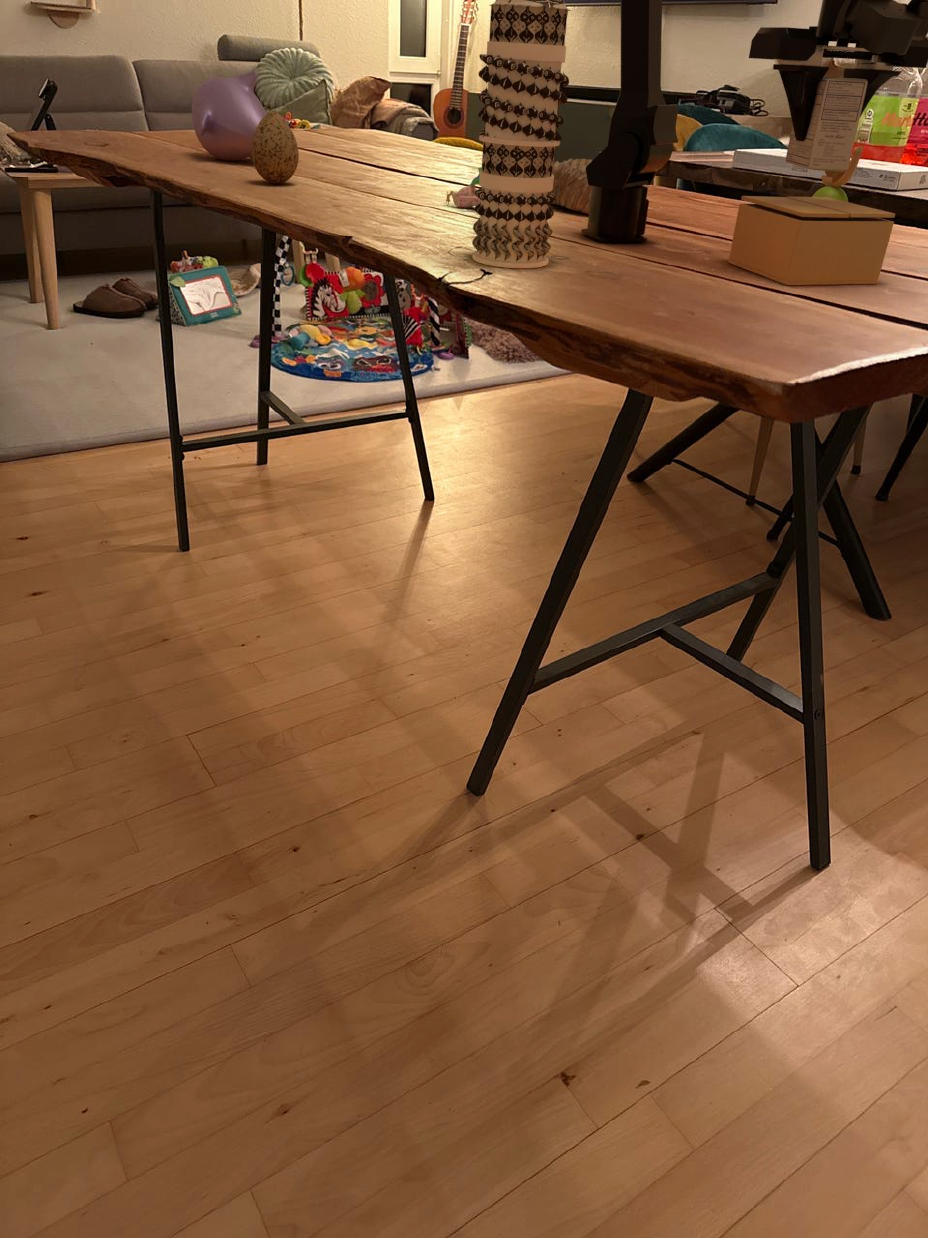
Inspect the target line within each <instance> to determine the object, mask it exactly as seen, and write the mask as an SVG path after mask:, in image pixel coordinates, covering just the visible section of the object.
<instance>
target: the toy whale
mask: <svg viewBox="0 0 928 1238" xmlns="http://www.w3.org/2000/svg"><path fill="white" fill-rule="evenodd" d="M258 75H259V73H258V70H251V71H249V72H246V73H243V74H242V73H241V74H238V75H236V76H233V77H225V76H223V77H222V76H220V77H219V76H218V77H213V78H209V79H206V80H204V81H203V82H201V83H200V84H199V85H198V86H197V87H196V89H195V90H194V93H193V96H192V101H191V103H192V104H191V118H192V124H193V129H194V132H195V135H196V137H197V140H198V142H199V143H200V145H201V146H202V148H203V149H204V150H205V151H206V152H207V153H208V154H210V156H212V157H214V158H216V159H217V160H218V159H219V160H221V161H227V162H229V161H241V160H244V159H248V158H249V159H250V160H252V155H251V145H252V139H253V135H254V132H255V130H256V128H257V126H258V124H259V122H260V121H261V120H262V118H263V117H264V116H265V115H266V114H267V111H266V109H265V107H264V106H263V104H262V103H261V101H260V100H259V98H258V96H257V95H256V94H255V92H254V91H255V85H256V83H257V81H258V77H259V76H258ZM284 120H285V121H286V122H287V124H288V125H289V120H288V119H287V118H284Z"/></svg>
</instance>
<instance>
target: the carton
mask: <svg viewBox="0 0 928 1238" xmlns="http://www.w3.org/2000/svg"><path fill="white" fill-rule="evenodd" d="M785 197H786V198H790V199H794V200H798V201H802V202H805V203H809V204H813V205H817V206H821V207H825V208H829V209H833V210H837V211H840V212H844V213H848V214H849V218H831V217H801V216H798V215H794V214H791V213H787V212H783V211H780V210H776V209H773V208H769V207H766V206H762V205H758V204H755V203H739V205H738V209H737V215H736V221H735V225H734V231H733V235H732V242H731V246H730V251H729V255H728V264H731V265H733V266H736V267H739V268H741V269H744V270H747V271H749V272H752V273H754V274H757V275H759V276H762V277H765V278H768V279H769V280H772V281H775V282H777V283H780V284H782V285H785V286H816V285H817V286H819V285H821V286H823V285H877V284H878V282H879V279H880V275H881V271H882V267H883V263H884V260H885V256H886V254H887V249H888V245H889V242H890V239H891V236H892V231H893V227H894V224H895V221H893V220H888V218H889V219H890V218H891V219H893V218H895V217H896V213H894V212H890V211H887V210H882V209H878V208H874V207H870V206H866V205H862V204H858V203H857V204H856V203H853V202H849V201H848V202H845V201H841V200H837V199H833V198H828V197H812V196H785ZM884 218H885V219H884ZM886 218H887V219H886Z"/></svg>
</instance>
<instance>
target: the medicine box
mask: <svg viewBox="0 0 928 1238" xmlns="http://www.w3.org/2000/svg"><path fill="white" fill-rule="evenodd" d="M867 83H868V81H867V80H866V79H856V78H843V77H836V76H824V77H823V78H822V80H821V81H820V83H819V85H818V88H817V92H816V97H815V102H814V106H813V111H812V115H811V120H810V125H809V128H808V131H807V135H806V138H805V140H804V141H797V140H796V138H795V133H794V129H793V124H792V126H791V131H790V135H789V139H788V144H787V149H786V155H785V163H786V164H790V165H793V166H797V167H801V168H804V169H808V170H811V171H820V172H821V171H822V172H825V171H835V172H845V171H847V170H848V167H849V163H850V161H851V158H852V155H853V150H854V144H855V140H856V136H857V132H858V128H859V122H860V119H861V117H860V114H861V110H862V106H863V101H864V97H865V93H866V88H867Z"/></svg>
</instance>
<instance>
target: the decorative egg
mask: <svg viewBox="0 0 928 1238" xmlns="http://www.w3.org/2000/svg"><path fill="white" fill-rule="evenodd" d="M251 155H252V159H251V161H252V163H253V166H254V168H255V170H256V172H257V173H258V175H259V176H260V177H261V178H262V179H263V180H264V181H266V182H268V183H270V184H274V185H281V184H284V183H286V182H288V181H289V180H290V179H291V178H292V177H293V176H294V175H295V173H296V170H297V168H298V165H299V159H300V157H299V156H300V153H299V145H298V141H297V139H296V136H295V134H294V132H293V131H292V128H291V127H290V126H289V123H288V124H287V122H286V121H285V118H283V117H282V115H280V113H279V112H277V111H275V110H271V111H268V112H266V115H265V116H264V117H263V118H262V120H261V121H260V122H259V124H258V126H257V128H256V130H255V132H254V135H253V139H252V145H251Z"/></svg>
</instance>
